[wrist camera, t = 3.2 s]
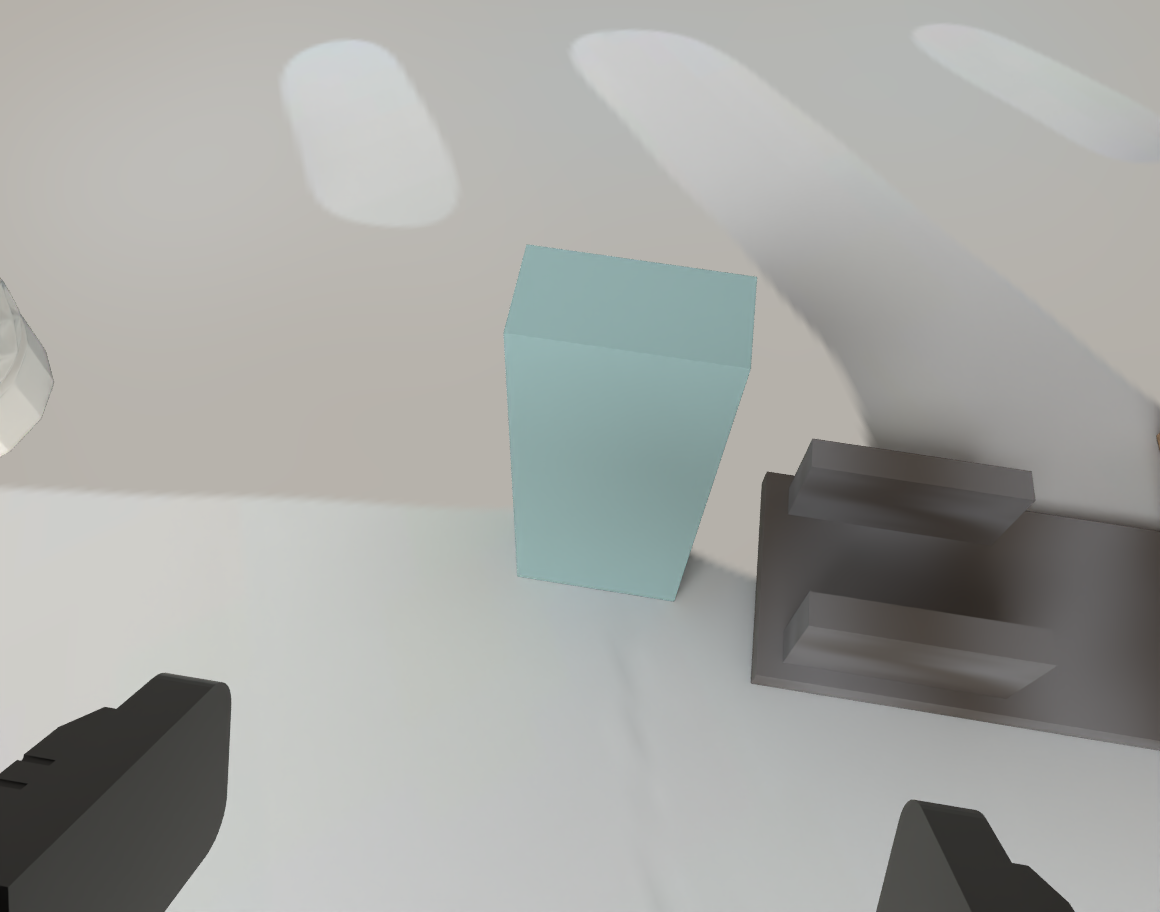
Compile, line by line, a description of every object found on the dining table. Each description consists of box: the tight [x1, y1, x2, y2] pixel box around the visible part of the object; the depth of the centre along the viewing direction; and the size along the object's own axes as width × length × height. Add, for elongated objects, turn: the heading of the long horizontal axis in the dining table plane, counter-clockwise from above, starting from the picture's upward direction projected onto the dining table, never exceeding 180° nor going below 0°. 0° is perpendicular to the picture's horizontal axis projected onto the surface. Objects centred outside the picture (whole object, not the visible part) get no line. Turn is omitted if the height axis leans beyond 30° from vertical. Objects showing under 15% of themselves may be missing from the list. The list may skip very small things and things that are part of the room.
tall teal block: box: [504, 245, 757, 601], centre depth 24 cm, size 5×3×12 cm
